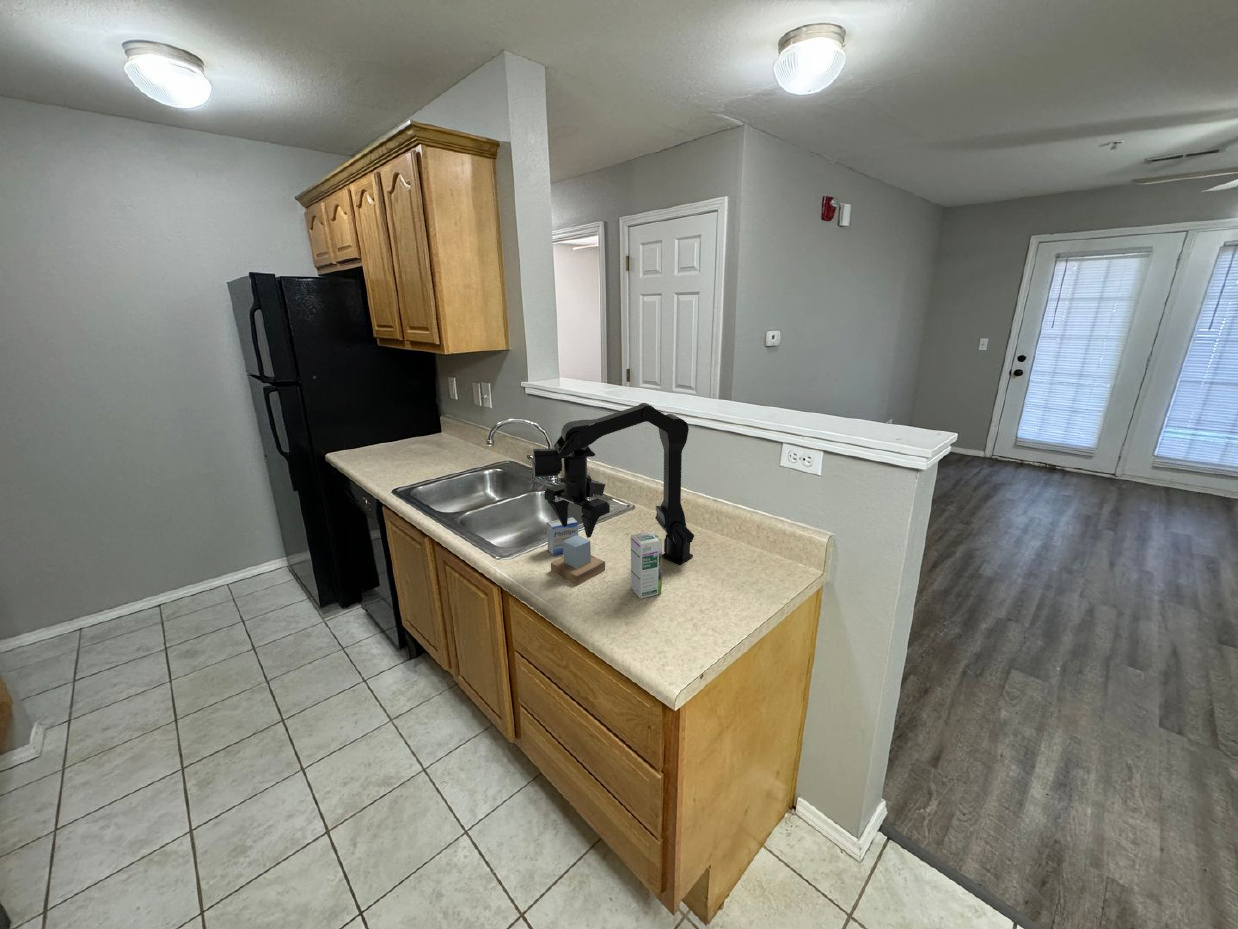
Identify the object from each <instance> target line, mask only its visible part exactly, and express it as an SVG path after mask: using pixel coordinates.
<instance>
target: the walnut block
mask: <svg viewBox="0 0 1238 929" xmlns="http://www.w3.org/2000/svg"><path fill="white" fill-rule="evenodd" d="M605 571H606V561H604V560H602V559H600V558H598V557H596V556H594V555H592V554H591V562H589V563H587V564H585V565H583V566H581V567H579V568H577V569H576V568H574V567H572V566H570V565H568V564H566V563H565V562H564V557H563V556H562V557H560V558H558V559H556V560H554V561H551V562H550V572H551V573H553V574H556V575H557V576H559V577H561V578H562V579H565V580H566V581H569V583H572V584H575V585H576V586H578V585H580V584H582V583H584V582H586V581H588V580H589V579H591V578H594V577H595V576H597V575H599V574H601V573H603V572H605Z"/></svg>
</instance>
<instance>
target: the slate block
mask: <svg viewBox="0 0 1238 929" xmlns="http://www.w3.org/2000/svg"><path fill="white" fill-rule="evenodd" d="M591 551H592V550H591V540H589V539H588V538H585V537H583V536H581V535H579V534H578V535H576V536H574V537H572V538H569V539H567V540H565V541H563V553H562V554H563V556H562V557H564V562H565V563H566V564H568V565H570V566H572V567H574V568H576V569H577V568H579V567H581V566H583V565H585V564H587V563H589V562H591V555H592V553H591Z"/></svg>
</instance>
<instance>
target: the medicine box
mask: <svg viewBox="0 0 1238 929" xmlns="http://www.w3.org/2000/svg"><path fill="white" fill-rule="evenodd" d="M576 535H579V522H578V521H577V520H576V519H575V518H574V517H573V516H572V517H568V521H567V526H566V527H563V526H562V524H561V522H560V520H559V519H556V520H552V521H546V536H547V540H546V541H547V550H548V552H550V553H551V555H553V556H558V555H561V554H563V541H565V540H567V539H569V538H572V537H574V536H576Z"/></svg>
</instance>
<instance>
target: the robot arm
mask: <svg viewBox="0 0 1238 929" xmlns="http://www.w3.org/2000/svg"><path fill="white" fill-rule="evenodd" d="M645 422H647V423H650V424H651V425H653V426H655V427H657V429H658V433H659V434H658V436H659V439H660V442H661V446H662V448H663V498H662V499H663V500H662V502H661V504H660V505H655V510H656V511H655V512H656V514H655V517H654V518H655V520H656V522H657V523H658V525H659V526H660V527H661V529H662V530H663V531H664V532H665V533H666V534H665V538H664V541H663V552H664V553H662V559H665V560H668V561H670V562H672V563H674V564H677V565H681V564H683V563H685V562H686V561H688V560H689V559H692V558H693V557H694V555H693V554H692V553H691V543H692V542H693V540H694V537H695V534H694V533H693V532H692V531H691V530H690V529H689V528H688V527H687V522H686V516H685V512H684V509H683V506H682V494H681V493H682V462H683V461H682V456H683V450H684V448H685V446H686V443H687V440H688V436H689V430H690V429H689V427H690V426H689V424H688V423H687V421H686V420H685V419H683V418H681V417H679V416H677V415H675V414H673V413H667V414H665V413H663V412H661V411H659V410H658V409H656V408H655V407H654V406H653V405H651V404H649V403H647V402H641V403H639V404H638V405H635V406H632V407H629V408H627V409H626V408H625V409H623V410H620V411H617V412H614V413H610V414H607V415H604V416H602V417H598V418H593V419H579V420H572V421H568V422H567V423H565V424H564V425H563V427H562V428H561V435H560V436H559V438H558V439H557V440H556V441H555V443H554V444H553V448H533V450H532V460H531V465H532V467H531V468H532V475H533V478H545V477H548V478H549V477H557V476H558V475H559V474H561V472H562V471H563V477H560V480H559V481H560V483H559V484H556V485H553V486H550V487H547V488H546V489H545V490H544V492H543V494H544V500H546V501H547V503H548V504H549V505H550V507H551V508H552V510H553V511H554V514H555V515H556V517H557V518H558V520H560V522H561V524H562V526H563V527H566V526H567V521H568V518H569V517H568V516H569V514H568V513H569V504H570V503H571V504H574V505H577V506H579V507H581V513H582V515H580V516H581V520H582V525H583V529H584V532H585V533H584V534H585V535H586V539H589V538H591V537H592V535H593V532H594V530H595V528H596V524H597V523H598V520H599V518H600V517H602V516H603V517H604V516H605V515H607V514H610V512H611V511H610V508H611V506H610V503H609V502H608V501H606V500H604V499H600V498H595V499H594V498H593V497H594V496H595V495H597V496H600V497H603V496H604V492H605V487H606V483H604V482H600V481H598V480H594V479H592V477H591V475H588V457H589V458H590V457H592V458H593V457H595V456H596V453H595V452H594V451H593V449H591V448H590V445H592V444H593V443H595V442H596V441H597V440H598V439H600V438H602V437H604V436H606V435H607V436H608V435H610V434H613V433H615V432H618V431H619V432H620V431H622V430H625V429H628V428H630V427H635V426H636V425H637V426H638V425H640V424H642V423H645ZM561 483H563V484H561ZM588 498H589V499H590V498H593V499H592V500H588Z"/></svg>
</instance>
